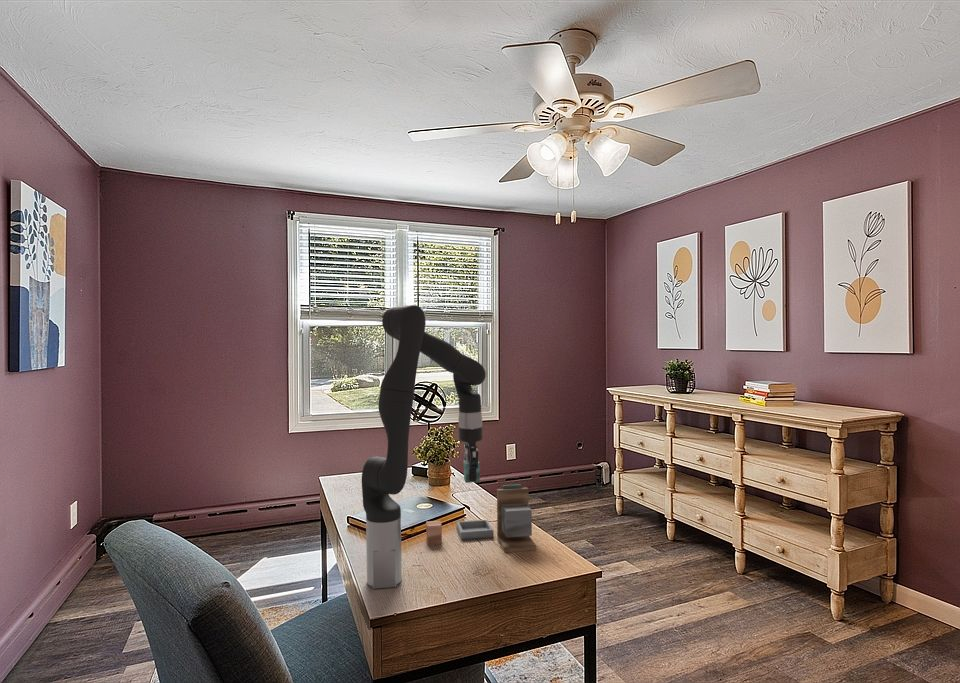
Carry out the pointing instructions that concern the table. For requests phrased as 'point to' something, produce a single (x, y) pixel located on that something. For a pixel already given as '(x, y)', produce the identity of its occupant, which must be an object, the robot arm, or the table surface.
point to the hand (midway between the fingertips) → (471, 478)
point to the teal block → (466, 472)
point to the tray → (474, 529)
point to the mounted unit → (514, 519)
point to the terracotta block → (433, 532)
